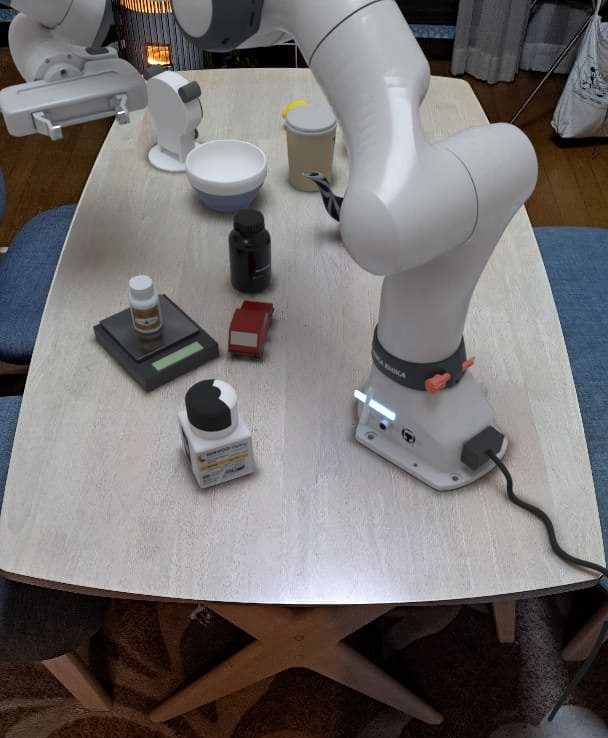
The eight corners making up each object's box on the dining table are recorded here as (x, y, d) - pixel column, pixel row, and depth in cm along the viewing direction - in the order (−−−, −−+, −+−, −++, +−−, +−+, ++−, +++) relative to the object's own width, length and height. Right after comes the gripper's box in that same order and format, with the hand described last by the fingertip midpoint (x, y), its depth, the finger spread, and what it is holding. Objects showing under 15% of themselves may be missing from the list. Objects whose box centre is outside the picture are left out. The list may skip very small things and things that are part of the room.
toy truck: (276, 316, 129) (277, 290, 125) (262, 364, 123) (262, 338, 118) (241, 311, 130) (240, 285, 125) (224, 359, 123) (223, 333, 119)
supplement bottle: (266, 298, 132) (264, 232, 122) (226, 292, 132) (221, 226, 123) (276, 272, 136) (274, 207, 126) (236, 267, 136) (232, 201, 127)
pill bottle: (135, 336, 121) (127, 293, 115) (132, 317, 123) (123, 275, 117) (164, 332, 122) (157, 289, 115) (160, 313, 124) (153, 270, 118)
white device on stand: (221, 156, 157) (215, 75, 144) (179, 180, 152) (169, 98, 139) (179, 134, 161) (169, 54, 149) (136, 157, 156) (123, 75, 144)
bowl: (255, 173, 153) (253, 133, 147) (278, 215, 145) (277, 175, 139) (181, 185, 151) (176, 145, 144) (200, 229, 143) (195, 189, 136)
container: (201, 490, 108) (190, 422, 97) (182, 450, 112) (171, 381, 102) (254, 473, 110) (250, 404, 99) (234, 434, 114) (228, 365, 103)
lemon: (317, 123, 164) (318, 96, 160) (314, 137, 161) (315, 109, 157) (283, 121, 165) (283, 93, 160) (280, 134, 162) (279, 107, 157)
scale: (219, 355, 124) (218, 339, 121) (147, 392, 119) (144, 376, 116) (166, 306, 130) (163, 289, 128) (95, 339, 125) (91, 322, 123)
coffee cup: (344, 184, 151) (348, 120, 142) (303, 199, 148) (304, 135, 139) (316, 161, 156) (318, 98, 146) (276, 176, 153) (274, 112, 143)
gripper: (-18, 73, 110) (7, 119, 103) (124, 44, 116) (158, 86, 109) (-5, 119, 116) (21, 166, 108) (131, 89, 121) (164, 133, 114)
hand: (91, 126), depth 109 cm, fingers open, 8 cm apart
